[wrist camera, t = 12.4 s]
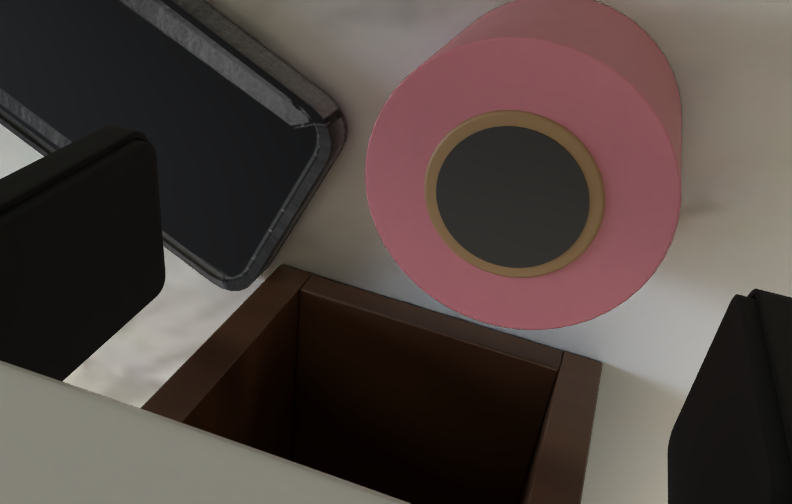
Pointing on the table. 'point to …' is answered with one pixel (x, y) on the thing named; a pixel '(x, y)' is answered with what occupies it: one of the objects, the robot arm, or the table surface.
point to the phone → (177, 117)
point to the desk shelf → (391, 396)
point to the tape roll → (531, 165)
